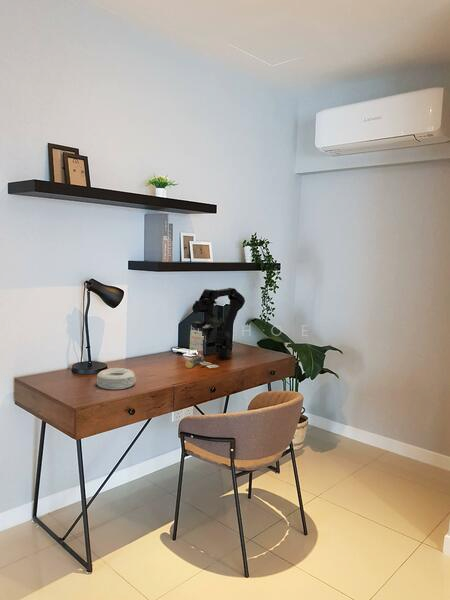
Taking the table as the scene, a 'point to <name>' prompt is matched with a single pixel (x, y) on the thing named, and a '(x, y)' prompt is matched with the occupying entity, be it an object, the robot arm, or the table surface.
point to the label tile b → (212, 366)
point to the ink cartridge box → (196, 341)
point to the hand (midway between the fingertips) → (207, 339)
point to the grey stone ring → (116, 378)
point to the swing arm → (195, 361)
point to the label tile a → (205, 363)
